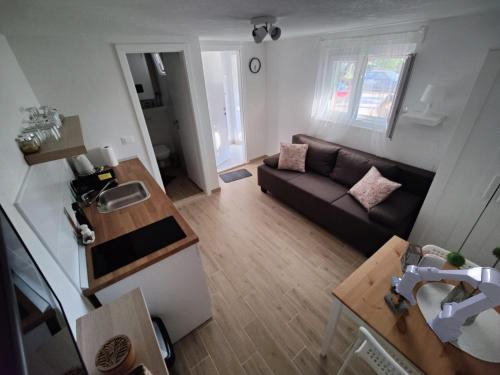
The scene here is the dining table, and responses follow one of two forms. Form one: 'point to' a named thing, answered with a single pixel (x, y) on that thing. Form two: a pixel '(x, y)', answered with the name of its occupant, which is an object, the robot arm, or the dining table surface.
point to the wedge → (396, 299)
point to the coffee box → (411, 256)
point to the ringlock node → (389, 297)
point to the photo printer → (432, 261)
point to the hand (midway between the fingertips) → (398, 299)
